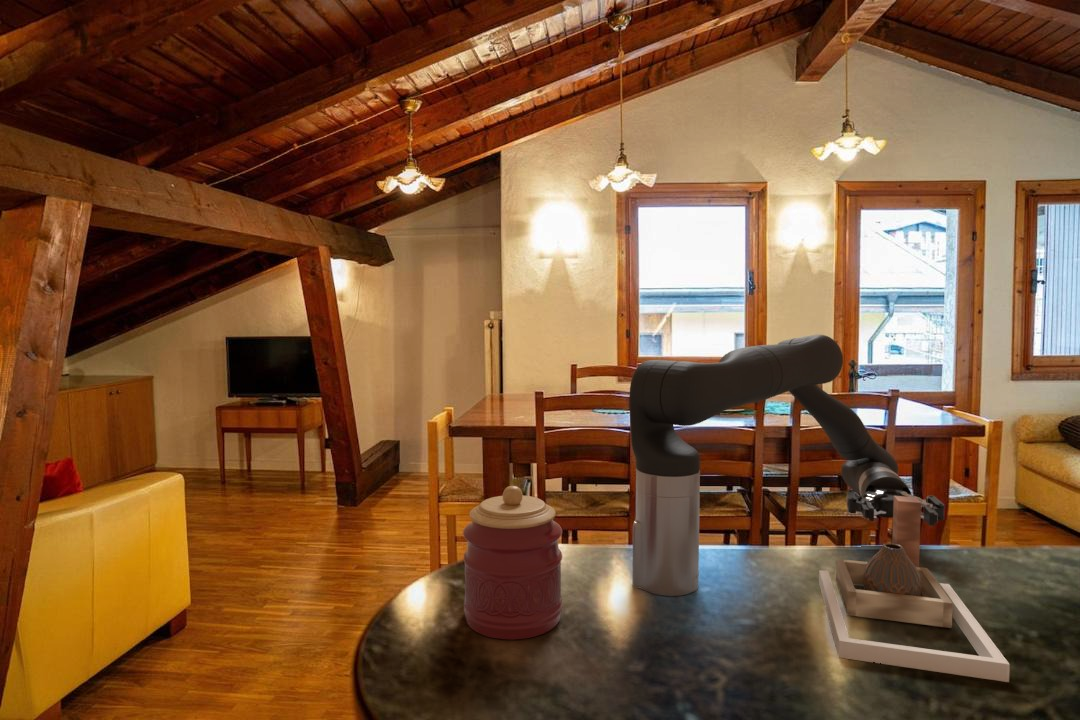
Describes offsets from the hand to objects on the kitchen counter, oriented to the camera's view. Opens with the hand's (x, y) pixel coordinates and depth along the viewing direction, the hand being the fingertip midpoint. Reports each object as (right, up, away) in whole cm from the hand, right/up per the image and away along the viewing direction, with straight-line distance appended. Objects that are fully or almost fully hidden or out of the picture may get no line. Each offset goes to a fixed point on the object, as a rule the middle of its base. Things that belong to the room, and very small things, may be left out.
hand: (901, 517), depth 102 cm
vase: (-10, -9, -16) cm, 21 cm away
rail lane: (-11, -9, -20) cm, 24 cm away
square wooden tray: (-9, -8, -11) cm, 16 cm away
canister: (-61, -9, -18) cm, 64 cm away
